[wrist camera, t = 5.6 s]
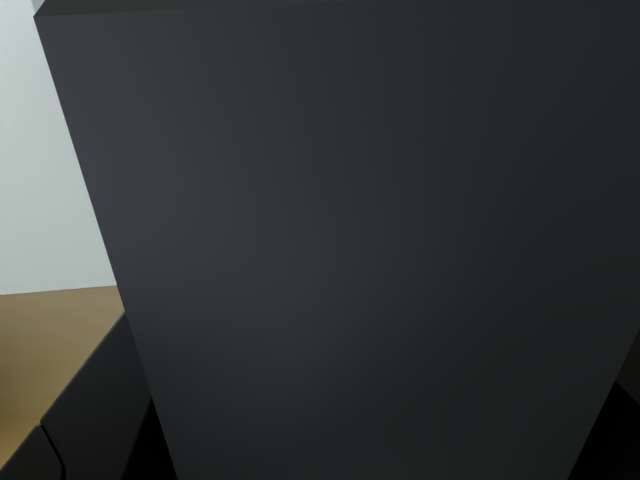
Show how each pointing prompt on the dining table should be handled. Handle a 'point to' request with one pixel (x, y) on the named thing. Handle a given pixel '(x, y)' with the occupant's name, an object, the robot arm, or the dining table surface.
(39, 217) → the board
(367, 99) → the dark gray block
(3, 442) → the dining table surface
